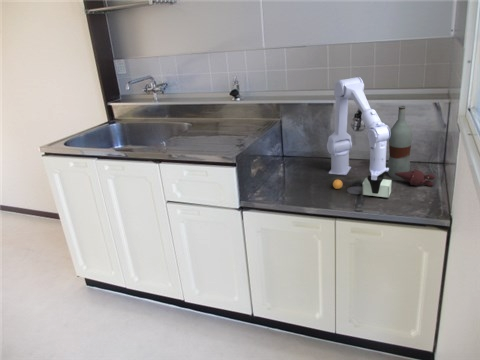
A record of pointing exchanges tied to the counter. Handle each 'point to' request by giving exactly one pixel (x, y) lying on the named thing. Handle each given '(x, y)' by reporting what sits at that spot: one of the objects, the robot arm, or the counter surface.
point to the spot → (355, 190)
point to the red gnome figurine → (416, 177)
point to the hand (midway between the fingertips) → (376, 189)
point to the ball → (337, 184)
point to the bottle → (399, 146)
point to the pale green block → (383, 190)
